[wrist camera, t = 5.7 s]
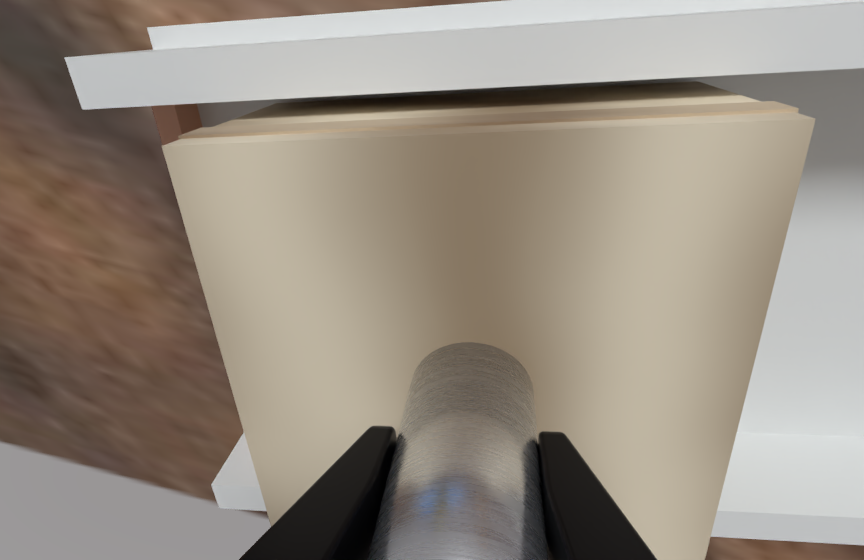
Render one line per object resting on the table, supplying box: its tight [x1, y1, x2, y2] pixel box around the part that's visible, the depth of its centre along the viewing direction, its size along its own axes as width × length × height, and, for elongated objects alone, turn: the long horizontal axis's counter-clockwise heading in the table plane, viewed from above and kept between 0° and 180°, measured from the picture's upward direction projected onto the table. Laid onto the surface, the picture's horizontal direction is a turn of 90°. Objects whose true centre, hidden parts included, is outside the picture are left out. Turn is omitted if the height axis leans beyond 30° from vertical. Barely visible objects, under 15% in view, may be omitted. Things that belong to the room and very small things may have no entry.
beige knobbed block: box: [162, 81, 816, 560], centre depth 10 cm, size 10×10×11 cm
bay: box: [64, 0, 864, 545], centre depth 13 cm, size 23×14×6 cm, turn 94°
